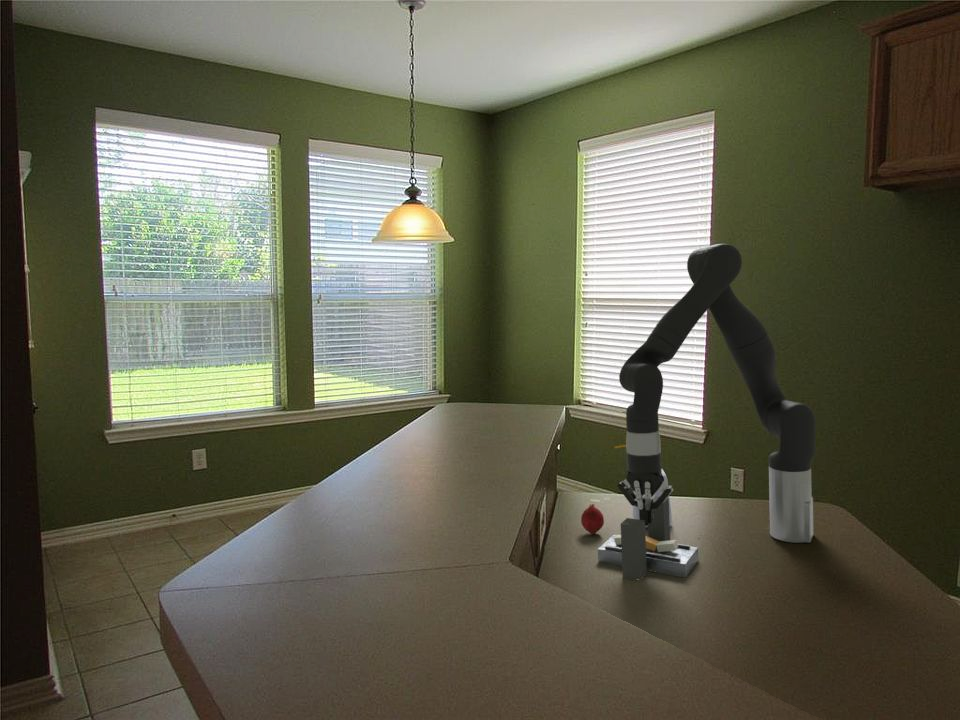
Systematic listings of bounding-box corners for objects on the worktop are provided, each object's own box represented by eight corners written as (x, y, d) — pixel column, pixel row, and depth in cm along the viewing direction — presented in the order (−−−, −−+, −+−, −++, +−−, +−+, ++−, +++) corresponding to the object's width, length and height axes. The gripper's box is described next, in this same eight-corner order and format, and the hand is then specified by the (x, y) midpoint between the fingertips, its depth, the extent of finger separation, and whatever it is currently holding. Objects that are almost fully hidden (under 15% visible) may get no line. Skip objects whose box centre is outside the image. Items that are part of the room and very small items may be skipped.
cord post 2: (670, 546, 155) (668, 497, 153) (665, 552, 151) (663, 502, 150) (654, 543, 157) (652, 496, 156) (648, 549, 153) (646, 500, 152)
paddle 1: (635, 539, 149) (633, 533, 149) (631, 543, 147) (629, 536, 147) (619, 541, 152) (617, 534, 152) (615, 544, 150) (613, 538, 150)
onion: (604, 538, 162) (602, 507, 161) (581, 538, 163) (579, 507, 163) (604, 530, 168) (603, 500, 167) (582, 529, 169) (580, 500, 168)
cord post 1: (646, 573, 140) (644, 520, 139) (640, 580, 137) (638, 526, 136) (629, 570, 143) (627, 518, 142) (622, 577, 139) (620, 523, 138)
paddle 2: (678, 546, 144) (676, 539, 144) (675, 550, 142) (673, 543, 142) (661, 548, 146) (659, 541, 146) (658, 552, 144) (656, 545, 144)
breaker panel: (698, 560, 146) (697, 545, 145) (685, 577, 137) (685, 561, 137) (614, 546, 157) (613, 532, 156) (598, 561, 148) (597, 546, 148)
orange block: (657, 547, 147) (659, 541, 146) (654, 551, 145) (656, 545, 144) (641, 540, 149) (642, 534, 148) (637, 544, 147) (639, 538, 146)
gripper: (677, 448, 144) (680, 523, 146) (621, 444, 151) (624, 515, 153) (667, 456, 138) (670, 534, 139) (609, 451, 145) (613, 525, 147)
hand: (646, 524), depth 146 cm, fingers closed
